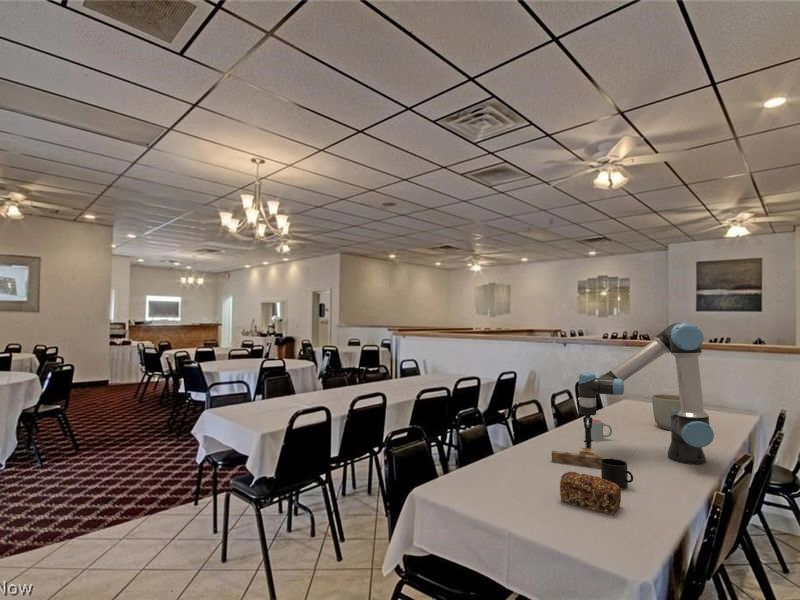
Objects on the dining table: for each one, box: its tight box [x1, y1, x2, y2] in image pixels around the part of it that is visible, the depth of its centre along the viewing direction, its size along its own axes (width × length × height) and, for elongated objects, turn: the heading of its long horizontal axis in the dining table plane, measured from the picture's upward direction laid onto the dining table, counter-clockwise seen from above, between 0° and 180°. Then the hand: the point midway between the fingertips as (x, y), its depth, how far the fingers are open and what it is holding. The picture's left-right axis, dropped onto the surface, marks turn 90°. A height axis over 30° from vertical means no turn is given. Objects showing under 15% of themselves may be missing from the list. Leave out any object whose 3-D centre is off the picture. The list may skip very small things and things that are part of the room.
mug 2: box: [600, 457, 634, 490], centre depth 172 cm, size 9×12×9 cm
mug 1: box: [591, 418, 613, 443], centre depth 238 cm, size 14×9×10 cm
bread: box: [559, 471, 622, 516], centre depth 156 cm, size 19×11×10 cm, turn 50°
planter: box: [651, 393, 681, 432], centre depth 262 cm, size 21×21×19 cm
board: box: [551, 450, 615, 470], centre depth 196 cm, size 26×3×5 cm, turn 64°
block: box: [578, 446, 595, 456], centre depth 200 cm, size 6×6×6 cm
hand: (588, 455), depth 206 cm, fingers closed
